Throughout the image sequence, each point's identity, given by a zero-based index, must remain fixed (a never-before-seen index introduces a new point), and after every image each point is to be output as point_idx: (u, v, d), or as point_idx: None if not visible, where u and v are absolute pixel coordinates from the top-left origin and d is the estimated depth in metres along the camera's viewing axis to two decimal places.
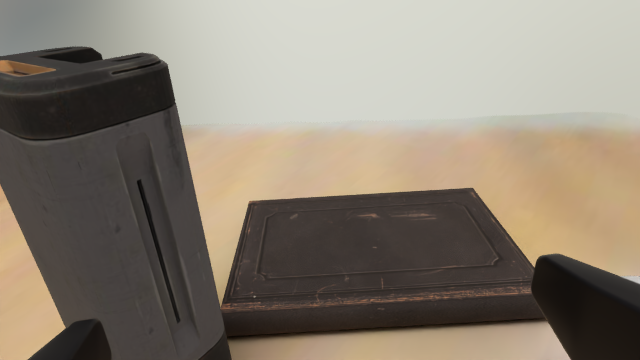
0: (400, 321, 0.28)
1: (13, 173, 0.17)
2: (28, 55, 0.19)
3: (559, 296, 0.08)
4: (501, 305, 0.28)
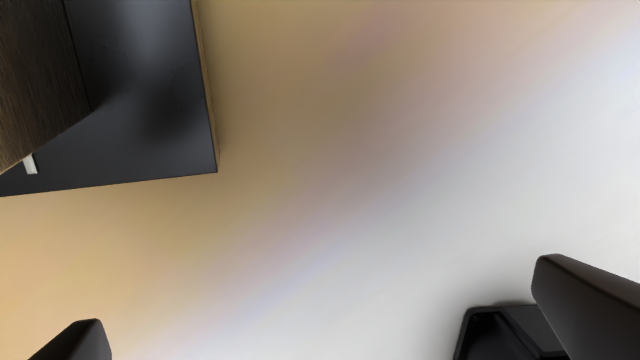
0: None
1: None
2: None
3: (559, 296, 0.08)
4: None
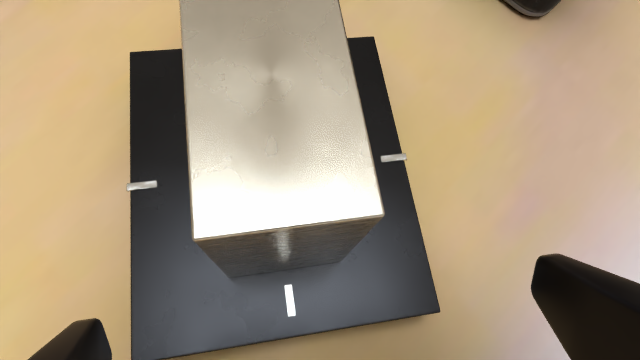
0: None
1: None
2: None
3: (559, 296, 0.08)
4: None
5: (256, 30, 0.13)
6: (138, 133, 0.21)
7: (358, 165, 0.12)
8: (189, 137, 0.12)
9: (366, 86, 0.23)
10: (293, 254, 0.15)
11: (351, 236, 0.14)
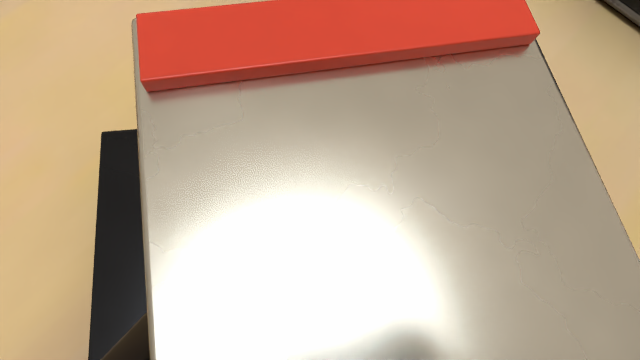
0: None
1: None
2: None
3: None
4: None
5: (370, 228, 0.04)
6: (106, 281, 0.12)
7: None
8: None
9: None
10: None
11: None
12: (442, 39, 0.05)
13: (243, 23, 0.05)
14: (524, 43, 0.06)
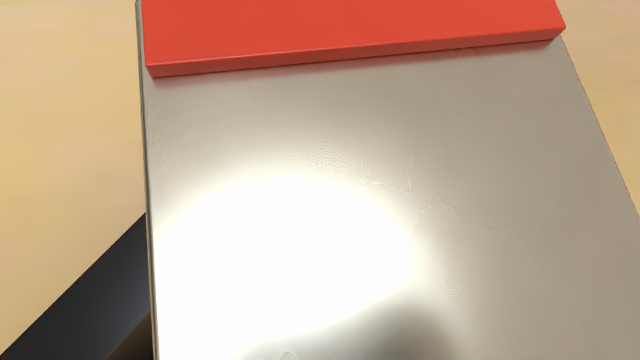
0: None
1: None
2: None
3: None
4: None
5: (386, 228, 0.04)
6: None
7: None
8: None
9: None
10: None
11: None
12: (464, 31, 0.05)
13: (255, 7, 0.05)
14: (548, 39, 0.05)
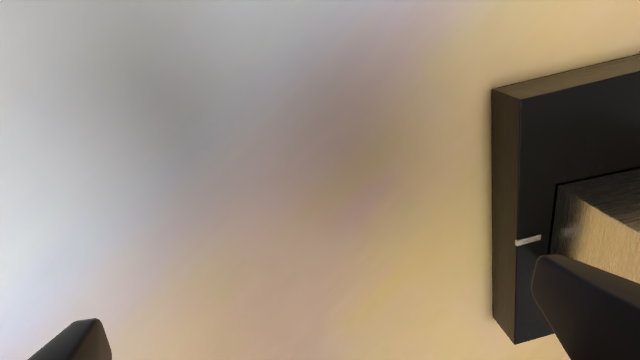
0: None
1: None
2: None
3: (559, 296, 0.08)
4: None
5: None
6: None
7: None
8: None
9: (533, 299, 0.24)
10: None
11: None
12: None
13: None
14: None
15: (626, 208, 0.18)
